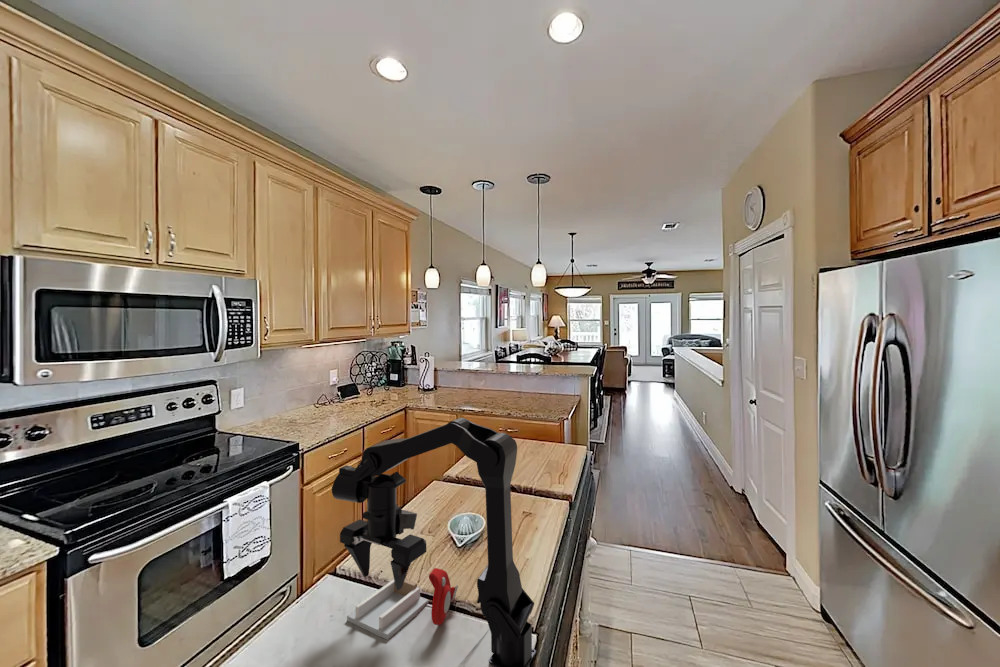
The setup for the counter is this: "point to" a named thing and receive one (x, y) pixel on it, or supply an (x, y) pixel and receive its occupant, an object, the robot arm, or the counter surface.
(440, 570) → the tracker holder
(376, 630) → the grey walled tray
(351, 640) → the counter surface
